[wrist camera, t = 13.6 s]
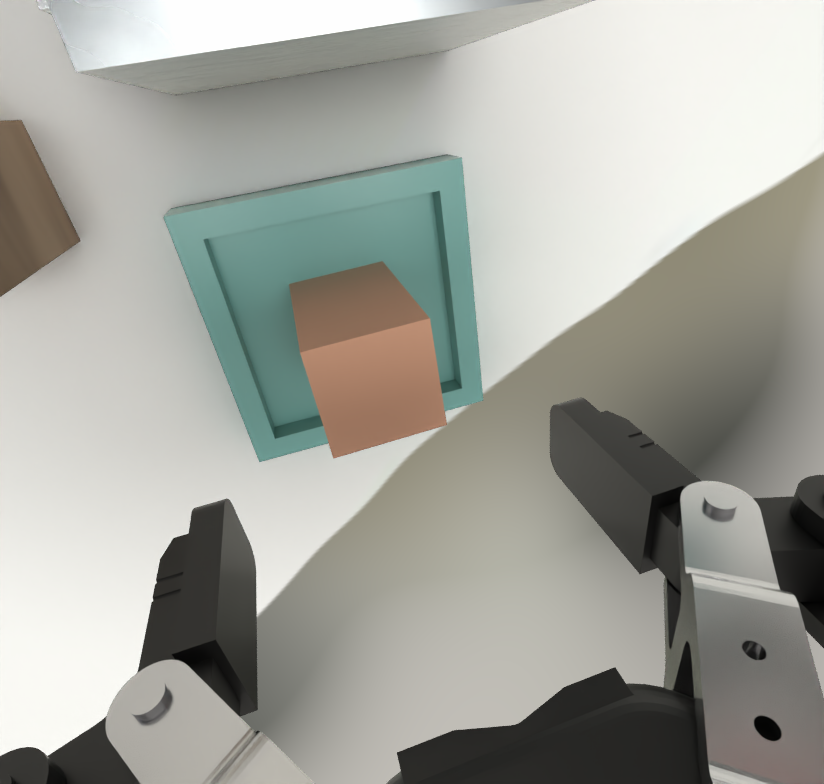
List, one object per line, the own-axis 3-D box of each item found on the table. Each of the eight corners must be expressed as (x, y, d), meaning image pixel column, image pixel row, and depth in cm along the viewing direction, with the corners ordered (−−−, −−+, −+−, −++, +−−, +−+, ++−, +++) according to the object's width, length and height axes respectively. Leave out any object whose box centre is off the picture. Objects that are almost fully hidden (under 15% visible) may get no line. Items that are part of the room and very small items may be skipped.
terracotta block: (314, 368, 23) (333, 458, 17) (288, 284, 21) (299, 352, 15) (399, 345, 23) (446, 424, 17) (382, 260, 21) (429, 318, 15)
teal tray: (259, 440, 24) (259, 462, 23) (171, 208, 19) (163, 216, 17) (470, 383, 26) (483, 400, 25) (446, 154, 20) (461, 157, 19)
